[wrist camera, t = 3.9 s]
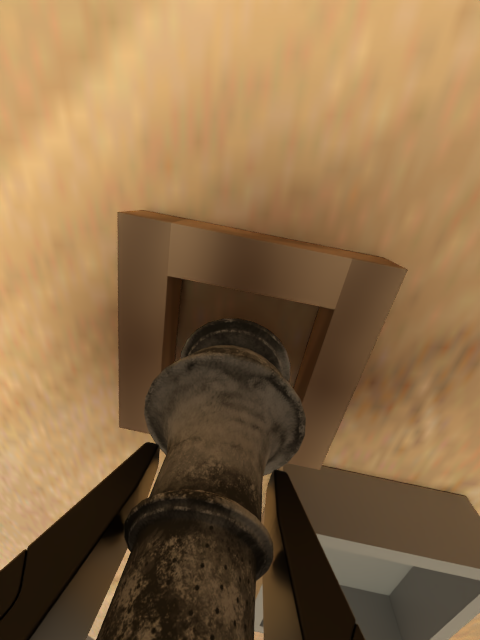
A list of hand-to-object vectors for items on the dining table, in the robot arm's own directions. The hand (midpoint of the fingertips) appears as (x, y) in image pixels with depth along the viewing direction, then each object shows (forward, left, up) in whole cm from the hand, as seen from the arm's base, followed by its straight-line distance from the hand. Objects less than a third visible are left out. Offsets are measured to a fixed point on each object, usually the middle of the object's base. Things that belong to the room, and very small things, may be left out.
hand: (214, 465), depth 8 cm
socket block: (0, 0, -8) cm, 8 cm away
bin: (-11, +15, -8) cm, 20 cm away
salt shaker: (0, 0, -5) cm, 5 cm away
